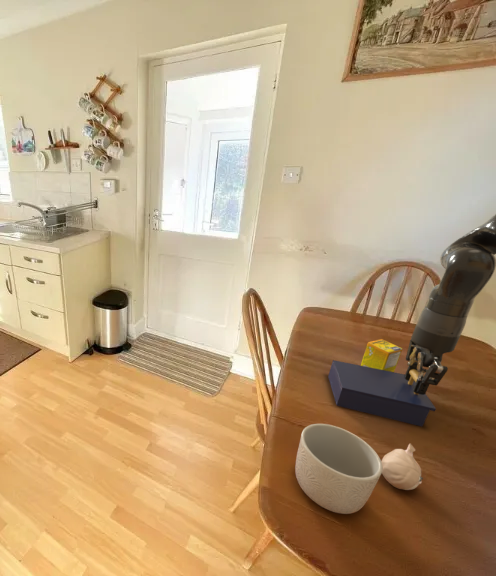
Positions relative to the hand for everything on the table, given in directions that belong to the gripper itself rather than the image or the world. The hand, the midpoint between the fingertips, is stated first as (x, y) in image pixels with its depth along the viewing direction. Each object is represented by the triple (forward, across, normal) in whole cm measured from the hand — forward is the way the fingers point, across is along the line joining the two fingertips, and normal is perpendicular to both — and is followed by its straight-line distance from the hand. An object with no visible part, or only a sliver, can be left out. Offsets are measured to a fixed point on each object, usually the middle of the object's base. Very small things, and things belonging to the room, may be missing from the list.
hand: (413, 386), depth 80 cm
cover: (+2, 0, +7) cm, 7 cm away
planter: (+7, -35, +22) cm, 42 cm away
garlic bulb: (+7, -27, +10) cm, 30 cm away
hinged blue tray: (+7, 0, +8) cm, 10 cm away
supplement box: (+7, +13, +4) cm, 15 cm away
